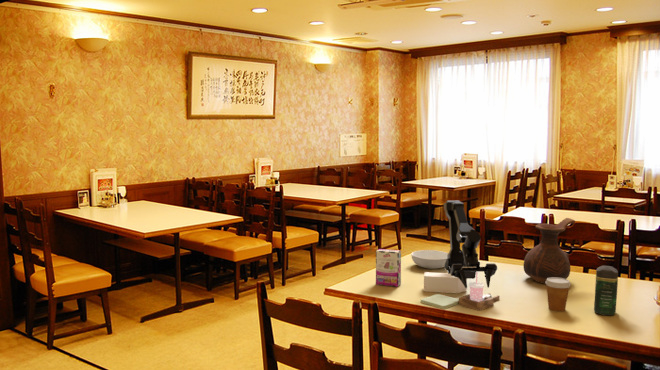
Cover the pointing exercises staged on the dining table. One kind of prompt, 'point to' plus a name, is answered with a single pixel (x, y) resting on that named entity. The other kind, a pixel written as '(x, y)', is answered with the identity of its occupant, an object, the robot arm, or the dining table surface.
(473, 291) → the beverage cup
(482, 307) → the brown wooden tray
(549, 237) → the jug
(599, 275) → the coffee jar
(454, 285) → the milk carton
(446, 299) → the pale green square pad
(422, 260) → the serving bowl
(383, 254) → the candy bar box
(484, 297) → the key bar
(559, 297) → the disposable coffee cup
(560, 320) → the dining table surface
